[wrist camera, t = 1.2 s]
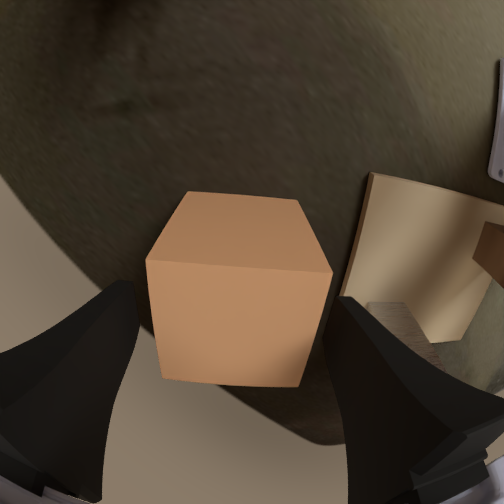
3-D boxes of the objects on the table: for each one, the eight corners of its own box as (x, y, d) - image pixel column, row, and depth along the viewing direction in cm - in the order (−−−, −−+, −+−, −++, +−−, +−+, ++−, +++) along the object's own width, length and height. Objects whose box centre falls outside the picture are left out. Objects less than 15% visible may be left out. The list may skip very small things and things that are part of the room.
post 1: (404, 302, 16) (453, 384, 10) (390, 333, 18) (428, 414, 12) (368, 301, 16) (412, 392, 10) (355, 334, 17) (388, 423, 11)
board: (511, 208, 14) (516, 211, 13) (457, 335, 19) (460, 339, 19) (369, 172, 13) (374, 174, 13) (324, 341, 18) (326, 348, 18)
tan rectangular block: (297, 200, 14) (332, 273, 8) (282, 290, 16) (298, 386, 11) (187, 191, 14) (145, 259, 8) (187, 283, 16) (162, 378, 10)
